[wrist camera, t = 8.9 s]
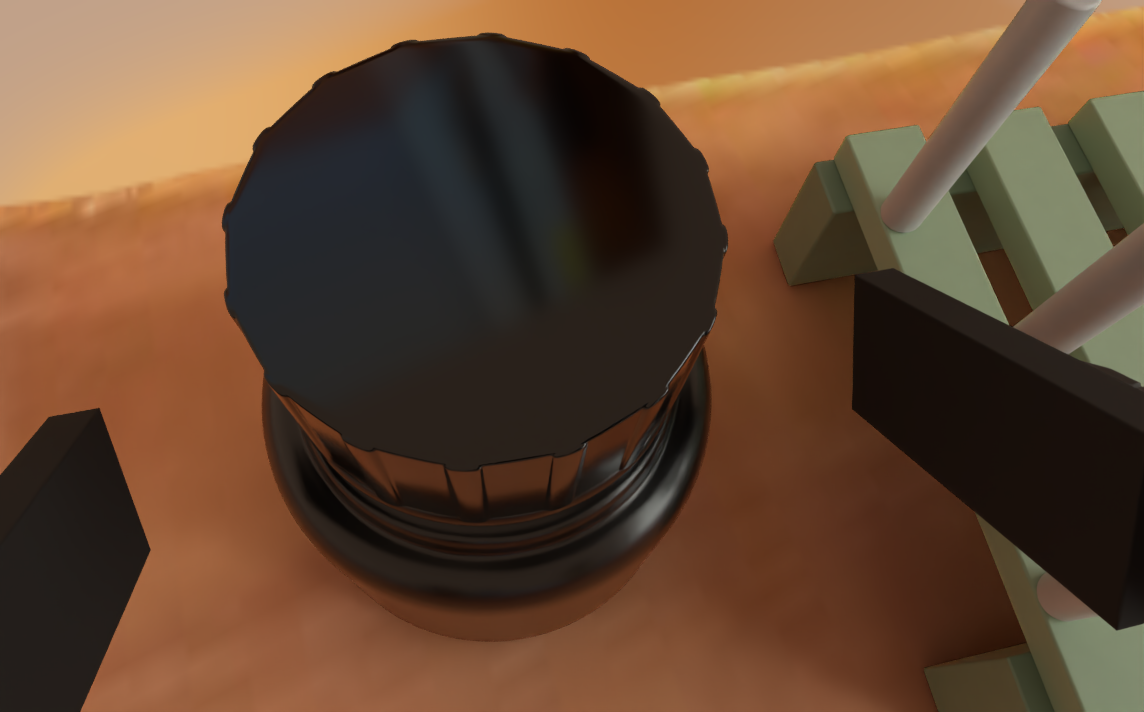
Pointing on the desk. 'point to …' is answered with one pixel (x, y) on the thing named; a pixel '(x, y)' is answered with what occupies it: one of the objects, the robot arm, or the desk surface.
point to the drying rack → (1048, 278)
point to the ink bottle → (479, 327)
